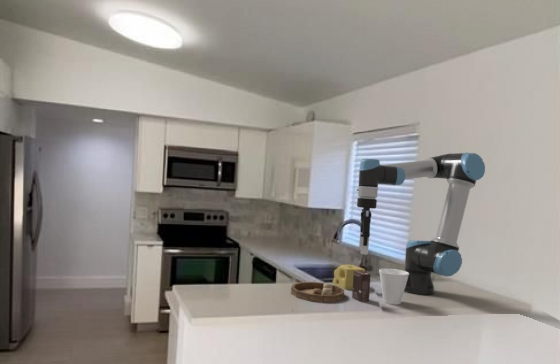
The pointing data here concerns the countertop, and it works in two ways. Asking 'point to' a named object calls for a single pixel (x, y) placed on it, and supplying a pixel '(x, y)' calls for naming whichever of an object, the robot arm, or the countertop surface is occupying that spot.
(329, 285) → the bead
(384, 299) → the cup
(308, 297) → the walnut tray
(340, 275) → the cheese
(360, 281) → the box
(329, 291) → the bead
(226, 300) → the countertop surface
